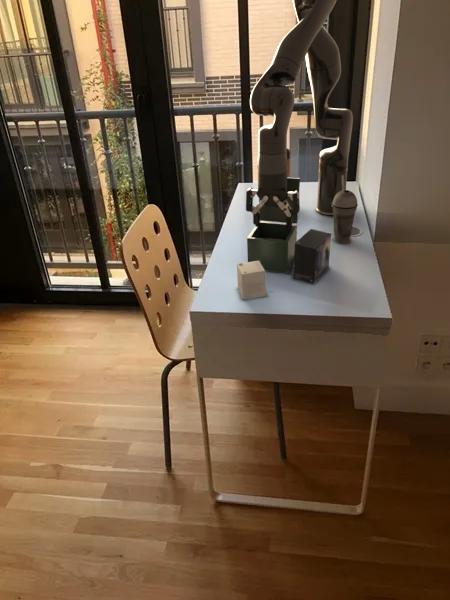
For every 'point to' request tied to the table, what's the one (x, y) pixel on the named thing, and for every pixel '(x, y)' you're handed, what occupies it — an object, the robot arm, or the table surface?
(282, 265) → the bin
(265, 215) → the bin lid
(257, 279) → the white cardboard box
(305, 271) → the small box
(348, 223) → the beverage cup
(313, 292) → the table surface
